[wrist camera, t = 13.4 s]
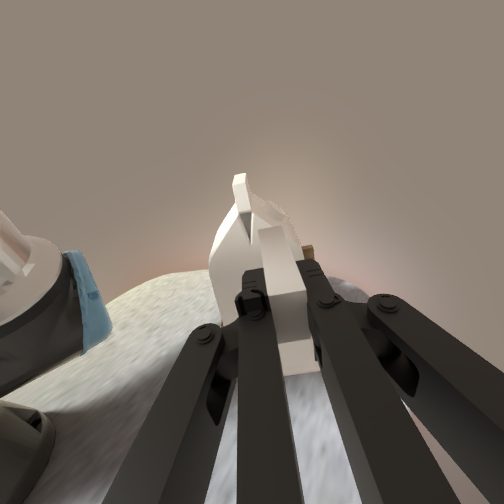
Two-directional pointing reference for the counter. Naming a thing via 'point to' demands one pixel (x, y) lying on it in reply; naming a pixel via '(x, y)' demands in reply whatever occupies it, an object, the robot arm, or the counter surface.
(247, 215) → the milk
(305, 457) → the counter surface
